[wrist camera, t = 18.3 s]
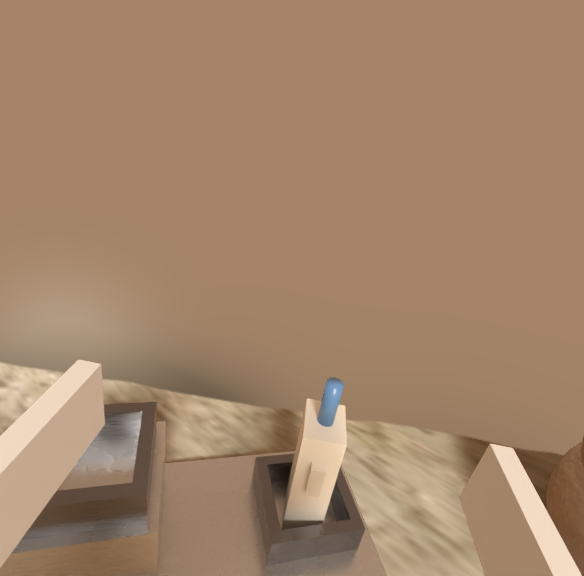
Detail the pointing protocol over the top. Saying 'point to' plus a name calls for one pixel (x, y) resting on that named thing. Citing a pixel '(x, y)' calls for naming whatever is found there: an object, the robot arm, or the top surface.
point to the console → (184, 515)
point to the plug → (316, 459)
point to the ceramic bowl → (569, 502)
